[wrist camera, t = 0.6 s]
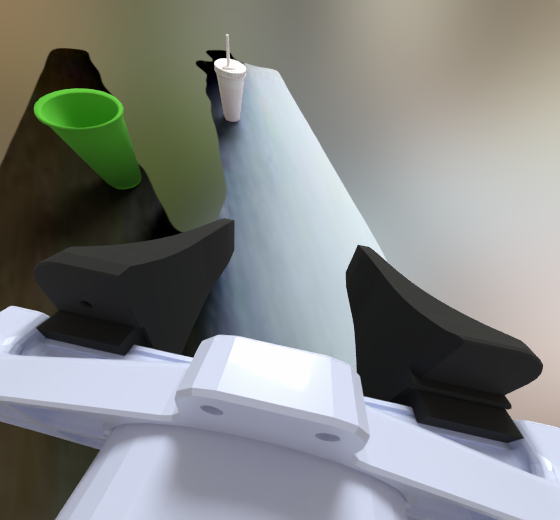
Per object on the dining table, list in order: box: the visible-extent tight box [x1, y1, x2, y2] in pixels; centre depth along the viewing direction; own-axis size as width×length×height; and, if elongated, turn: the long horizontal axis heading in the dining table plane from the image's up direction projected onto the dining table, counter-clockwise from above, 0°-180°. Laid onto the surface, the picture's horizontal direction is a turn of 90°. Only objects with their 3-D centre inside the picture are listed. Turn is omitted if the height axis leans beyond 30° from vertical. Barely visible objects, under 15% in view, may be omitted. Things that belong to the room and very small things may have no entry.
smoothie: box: [214, 34, 246, 122], centre depth 42 cm, size 6×6×14 cm
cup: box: [34, 89, 141, 189], centre depth 29 cm, size 9×9×11 cm
